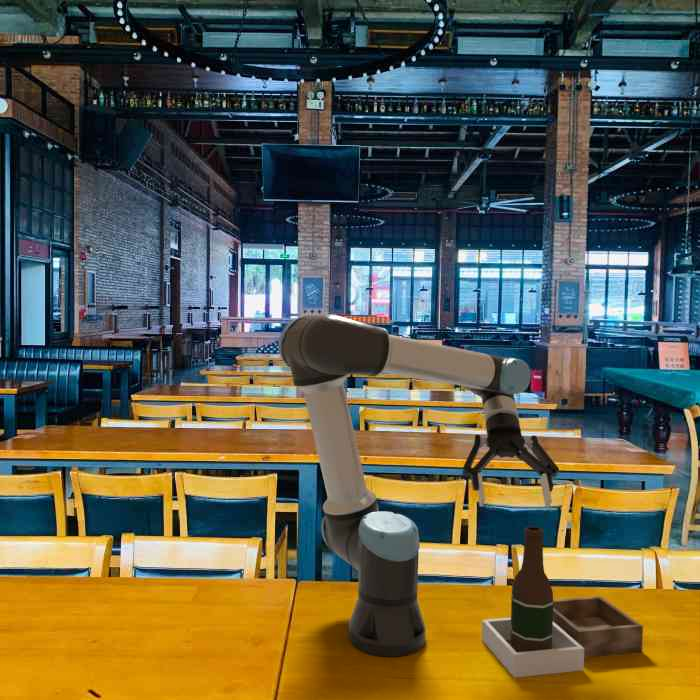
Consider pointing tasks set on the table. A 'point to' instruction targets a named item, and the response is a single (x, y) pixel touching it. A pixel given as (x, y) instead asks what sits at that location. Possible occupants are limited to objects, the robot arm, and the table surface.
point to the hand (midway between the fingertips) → (515, 504)
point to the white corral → (532, 662)
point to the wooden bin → (598, 626)
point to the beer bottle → (531, 599)
